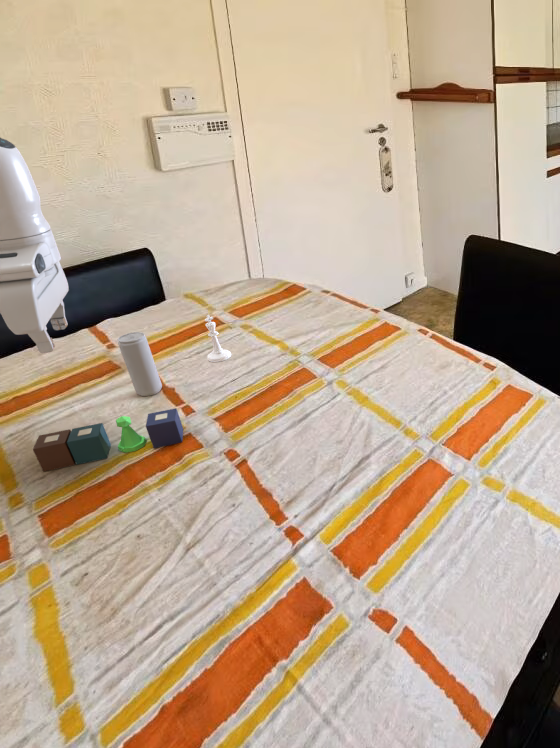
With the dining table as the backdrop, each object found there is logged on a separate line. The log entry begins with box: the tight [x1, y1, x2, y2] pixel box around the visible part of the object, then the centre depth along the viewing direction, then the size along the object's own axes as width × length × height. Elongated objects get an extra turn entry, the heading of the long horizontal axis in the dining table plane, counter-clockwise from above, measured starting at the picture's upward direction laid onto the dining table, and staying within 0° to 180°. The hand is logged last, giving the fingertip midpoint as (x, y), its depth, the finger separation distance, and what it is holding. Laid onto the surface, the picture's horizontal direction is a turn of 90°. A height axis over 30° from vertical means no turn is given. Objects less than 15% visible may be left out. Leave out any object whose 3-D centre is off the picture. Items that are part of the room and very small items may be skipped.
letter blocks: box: [32, 408, 184, 472], centre depth 106 cm, size 21×4×5 cm, turn 112°
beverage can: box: [117, 331, 163, 397], centre depth 122 cm, size 5×5×12 cm
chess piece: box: [204, 314, 232, 363], centre depth 136 cm, size 5×5×10 cm
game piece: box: [115, 415, 147, 454], centre depth 106 cm, size 4×4×6 cm
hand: (54, 339), depth 98 cm, fingers open, 8 cm apart
